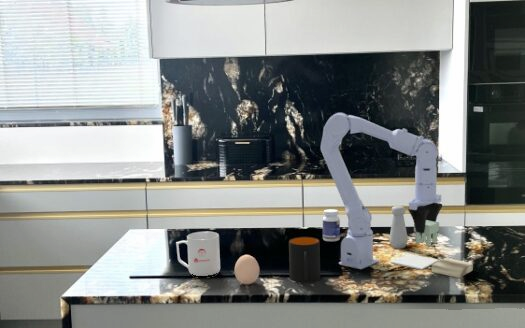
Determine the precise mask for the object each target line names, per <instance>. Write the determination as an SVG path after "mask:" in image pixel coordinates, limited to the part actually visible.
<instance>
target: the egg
mask: <svg viewBox="0 0 525 328" xmlns="http://www.w3.org/2000/svg"><path fill="white" fill-rule="evenodd" d="M234 265H235V266H234V275H235V276H234V277H235V278H236V279H237V281H239V282H240V283H242V284H243V285H251V284H253V283H254V282H256V281H257V279H259V276H260V266H259V263H258V261H257V260H256V258H255V257H253V256H251V255H250V254H244V255H241V256H240V257H239V258H238V259H237V261H236V262H235V264H234Z"/></svg>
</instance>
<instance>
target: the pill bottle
mask: <svg viewBox="0 0 525 328" xmlns="http://www.w3.org/2000/svg"><path fill="white" fill-rule="evenodd" d="M323 215H324V216H323V217H322V239H323V241H325V242H337V241H338V242H339V240H340V238H341V228H340V227H341V224H340V223H341V221H340V217H339V216H338V215H339V211H338V209H334V208H333V209H330V208H329V209H324V210H323Z"/></svg>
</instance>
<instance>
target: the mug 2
mask: <svg viewBox="0 0 525 328" xmlns="http://www.w3.org/2000/svg"><path fill="white" fill-rule="evenodd" d="M320 244H321V243H320V239H319V238H316V237H312V236H299V237H293V238H291V239H289V240H288V255H289V256H288V257H289V258H288V259H289V279H290V280H291V281H292V282H295V283H301V284H305V283H306V284H307V283H313V282H317V281H319V280H320V279H321V255H320V254H321V253H320V251H321V250H320V248H321V247H320Z"/></svg>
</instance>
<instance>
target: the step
mask: <svg viewBox="0 0 525 328" xmlns="http://www.w3.org/2000/svg"><path fill="white" fill-rule="evenodd" d="M473 268H474V264H473V262H469V261H468V262H467V261H463V260H457V259H453V258H447V257H444V258H443V259H441V260H439V261H438V262H436V263H434V264H432V265H431V273H434V274H439V275H445V276H448V277H453V278H458V279H459V278H462V277H464V276H465V275H467V274H469V273H471V272H472V271H473Z"/></svg>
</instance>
